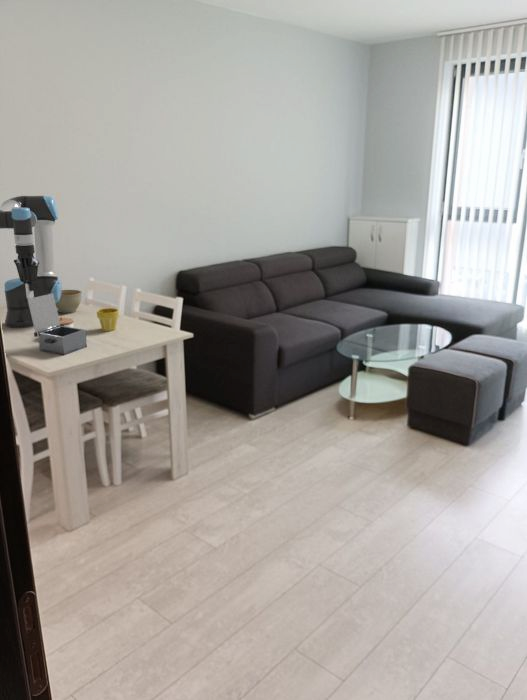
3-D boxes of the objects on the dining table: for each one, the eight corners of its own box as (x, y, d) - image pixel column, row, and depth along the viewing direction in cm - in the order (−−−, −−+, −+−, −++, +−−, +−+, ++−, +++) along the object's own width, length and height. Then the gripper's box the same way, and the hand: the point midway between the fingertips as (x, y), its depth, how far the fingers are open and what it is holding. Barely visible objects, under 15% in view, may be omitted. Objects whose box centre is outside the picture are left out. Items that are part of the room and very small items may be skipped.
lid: (37, 333, 250) (33, 333, 252) (61, 326, 262) (57, 326, 264) (29, 299, 247) (25, 299, 248) (53, 293, 259) (49, 293, 260)
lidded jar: (61, 340, 268) (59, 321, 265) (46, 337, 273) (44, 317, 270) (79, 335, 277) (77, 316, 274) (64, 332, 282) (62, 313, 279)
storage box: (34, 351, 252) (32, 332, 249) (63, 341, 267) (62, 323, 264) (61, 356, 246) (59, 337, 243) (89, 345, 260) (87, 328, 258)
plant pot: (114, 332, 282) (112, 313, 279) (94, 331, 284) (93, 312, 281) (123, 327, 292) (121, 308, 289) (104, 326, 293) (102, 307, 291)
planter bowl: (77, 315, 315) (76, 295, 311) (48, 314, 315) (46, 295, 312) (86, 308, 330) (85, 289, 327) (58, 307, 330) (57, 289, 327)
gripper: (6, 244, 249) (13, 297, 256) (28, 246, 243) (34, 300, 250) (20, 242, 255) (26, 295, 262) (42, 244, 250) (47, 297, 257)
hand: (30, 297), depth 256 cm, fingers closed
